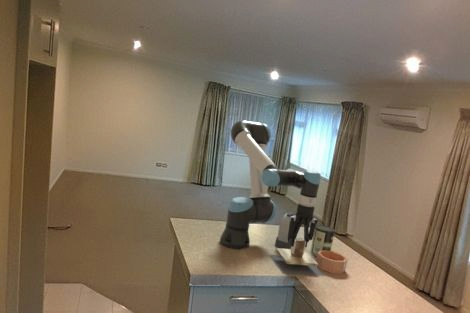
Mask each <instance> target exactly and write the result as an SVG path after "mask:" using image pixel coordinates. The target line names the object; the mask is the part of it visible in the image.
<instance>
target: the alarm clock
mask: <svg viewBox="0 0 470 313" xmlns="http://www.w3.org/2000/svg"><path fill="white" fill-rule="evenodd" d="M295 215H296V213H295V212H293V211H292V212H291V211H288V212H286V213H285V214H284V215H283V217H282V218H281V220H280V224H279V226H278V227H279V228H278V232H277V236H276V239H275V243H274V247H277V248H278V247H279V248H282V249H291V245H290V242H291V238H289V237H288V231H289V224H290V218H289V217H290V216H295ZM296 222H297V220H296V219H295V221H294V228H295V226H296ZM293 231H294V229H293Z"/></svg>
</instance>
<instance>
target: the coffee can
mask: <svg viewBox="0 0 470 313" xmlns="http://www.w3.org/2000/svg"><path fill="white" fill-rule="evenodd" d="M335 232H336V230H335V229H334V228H333V227H331V226H328V225H327V226H326V225H322V224H316V226H315V230H314V235H313V239H312V240H311V241H312V242H311V247H310V253H311V254H312V255H314V256H316V257H317V254H318V252H319V251H321V250H327V251H332V248H333V247H332V246H333V241H334V236H335Z"/></svg>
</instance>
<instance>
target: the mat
mask: <svg viewBox="0 0 470 313" xmlns="http://www.w3.org/2000/svg"><path fill="white" fill-rule="evenodd" d="M268 257H269V258H270V259H271V261H272V262H273V263H274V264H275V265H276V267H277V268H278V270H280V272H281V273H282V274H284V275H300V276H301V275H302V276H303V275H304V276H321V277H322V276H323V277H326V276H325V274H324V273H323V272H321V269H319V268H317V266H311V265H297V264H287V263H286V262H285V261H284V260H283V259H282V257H281V256H280V255H274V254H268Z"/></svg>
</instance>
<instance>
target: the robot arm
mask: <svg viewBox="0 0 470 313" xmlns="http://www.w3.org/2000/svg"><path fill="white" fill-rule="evenodd" d="M271 137H272V133H271V130H270V127H269V126H268V125H267V124H266V123H262V122H259V121H258V122H257V121H251V120H243V119H242V120H237V122H235V123H233V125H232V127H231V128H230V138H231V140H232V141H233V143H234V144H235V145H236V146H237V147H240V149H241V150H242V151H243V152H244V153H245V155H246V156H247V157H248V159H249V160H248V162H249V176H250V193H251V194H250V195H249V197H244V196H238V197H237V196H236V197H233V198H232V199H230V201H229V205H228V209H227V217H226V223H225V227H224V229H223V232H222V233H221V235H220V238H219V243H220V244H221V245H222V246H224V247H227V248H229V249H233V250H234V249H236V250H242V249H243V250H245V249H248V248H249V247H250V244H251V241H250V233H249V228H250V224H266V223H270V222H271V221H273V220H274V218H275V217H276V215H277V214H276V212H277V207H276V203H275V202H273V201H272V198H271V195H270V194H268V186H269V187H292V188H297V189H300V192H299V198H298V204H297V208H296V213H295V216H290V217H289V218H290V224H289V231H288V237H289V238H291V242H290V245H291V251H290V252H291V253H292V254H294V252H295V247H296V242H297V240H296V238H298V233H299V232H300V228H301V227H302V225H303V239H304V240H305V246H304V250H305V251H306V248H307V247H308V243H309V242H310V241H313V235H314V230H315V226H316V225H318V224H317V223H318V222H319V221H318V219H317V218H315V217H314V213H315V209H316V208H315V205H316V202H317V197H318V193H319V189H320V185H321V175H322V174H321V173H320V172H318V171H314V170H309V169H308V170H305V171H304V172H302V171H299V170H296V169H292V168H287V169H279V167H278V166H277V165H276V164H275V163H274V162H273V161H272V159H271V158H270V157H269V156H268V155H267V154H266V151H265V149H266V148H267V147H268V144H269V143H270V140H271V139H272V138H271ZM295 219H296V220H297V222H296V226H295V228H294V221H295ZM293 229H294V231H293ZM303 255H304V251H303Z"/></svg>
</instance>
